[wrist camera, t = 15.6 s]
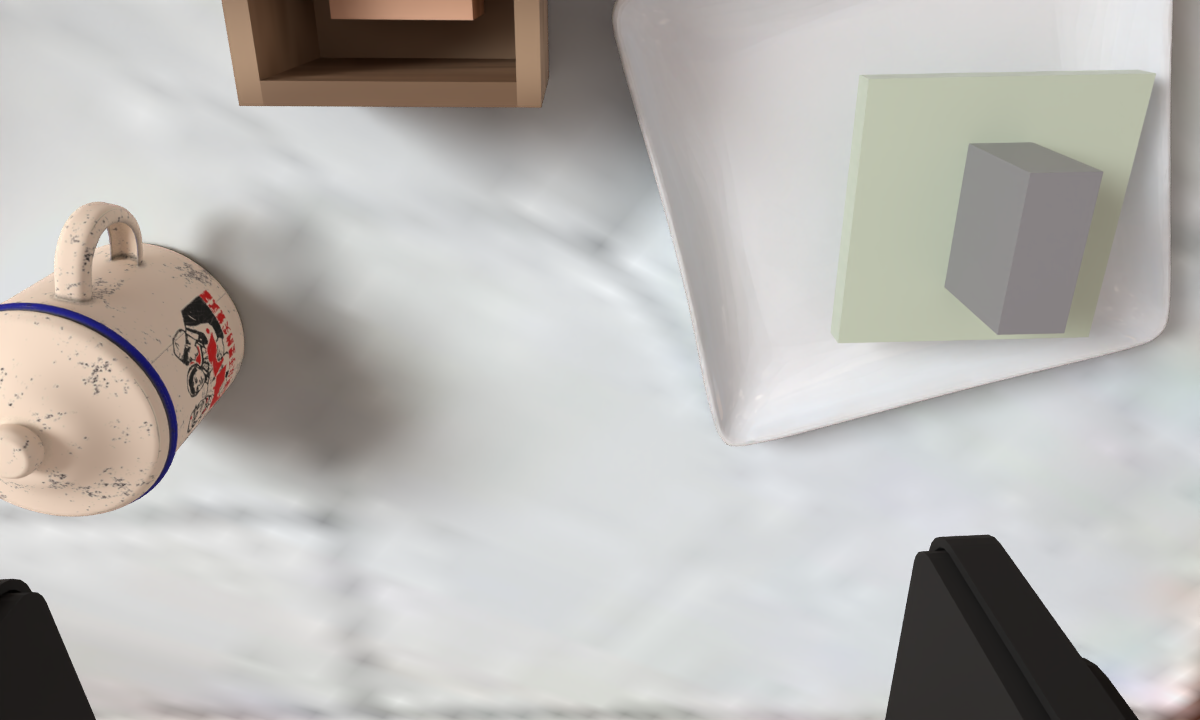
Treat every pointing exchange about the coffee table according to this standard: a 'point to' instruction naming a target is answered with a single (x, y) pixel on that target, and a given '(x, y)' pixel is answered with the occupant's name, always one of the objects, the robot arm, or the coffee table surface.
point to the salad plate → (819, 182)
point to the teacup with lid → (108, 367)
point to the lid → (984, 203)
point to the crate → (389, 52)
